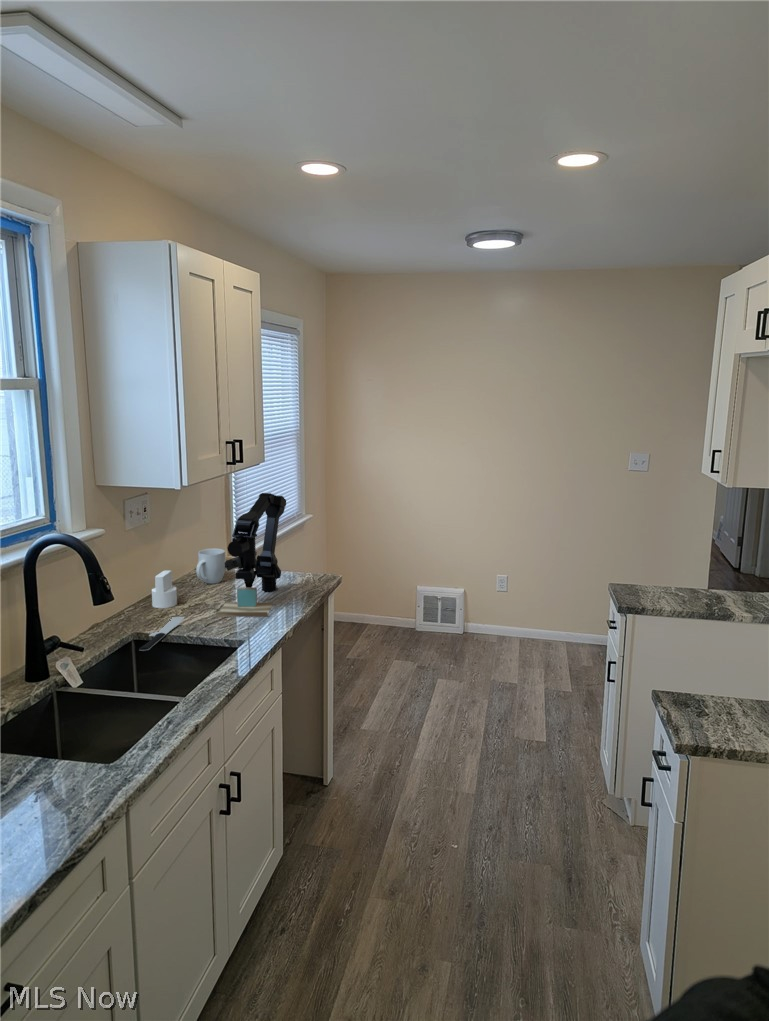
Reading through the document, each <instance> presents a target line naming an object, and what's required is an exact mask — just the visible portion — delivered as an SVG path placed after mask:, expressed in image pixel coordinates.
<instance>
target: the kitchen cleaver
mask: <svg viewBox="0 0 769 1021" xmlns="http://www.w3.org/2000/svg"><path fill="white" fill-rule="evenodd" d="M184 618H185V616H173V617H172V619H170V618H169V619H170V620H171V621H169V622H168V623H167V624H166V625H165V626H164V627H163V628H162V629H161V630H160V631H159V632H155V633H153V632H152V633H150V634H149V635H148V637H152V638H151V639H150V640H149V641H147V642H146V643H145V644H144V645H142V646H141V647H139V650H138V651H140V652H149V651H150V650H152V648H154V646H156V645H157V644H158V643H159V642H161V641H162V639H164V638H165V637H166V635H167V634H169V633H170V632H171V631H172V630H174V629H175V628H176V627H178V626H179V625H180V624H181V622H183V620H184Z"/></svg>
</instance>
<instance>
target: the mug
mask: <svg viewBox="0 0 769 1021" xmlns="http://www.w3.org/2000/svg"><path fill="white" fill-rule="evenodd" d="M197 555H198V560H197V565H196V569H195V570H196V576H197V578H198V579H199V580H200V581H203V582H204V583H205V584H213V585H215V584H218V583H221V581H222V580H223V578H224V576H225V573H226V568H225V564H224V563H225V562H226V550H224V549H221V548H204V549H201V550H198V554H197Z"/></svg>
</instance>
